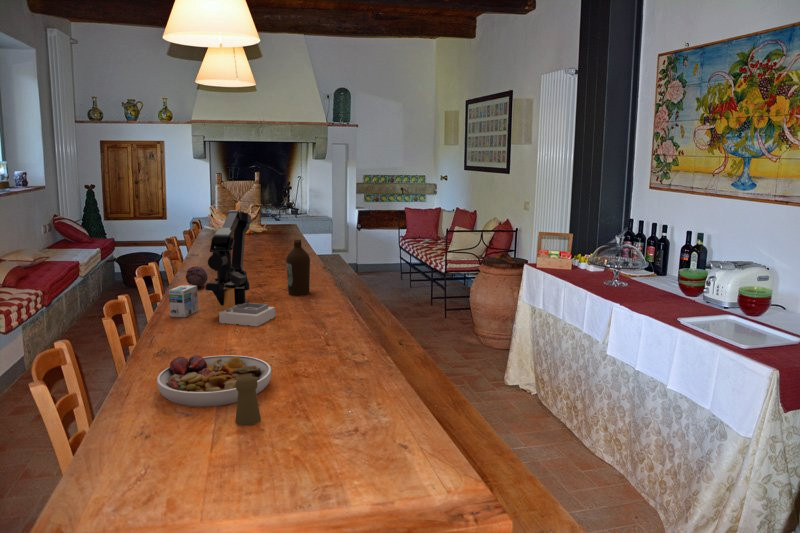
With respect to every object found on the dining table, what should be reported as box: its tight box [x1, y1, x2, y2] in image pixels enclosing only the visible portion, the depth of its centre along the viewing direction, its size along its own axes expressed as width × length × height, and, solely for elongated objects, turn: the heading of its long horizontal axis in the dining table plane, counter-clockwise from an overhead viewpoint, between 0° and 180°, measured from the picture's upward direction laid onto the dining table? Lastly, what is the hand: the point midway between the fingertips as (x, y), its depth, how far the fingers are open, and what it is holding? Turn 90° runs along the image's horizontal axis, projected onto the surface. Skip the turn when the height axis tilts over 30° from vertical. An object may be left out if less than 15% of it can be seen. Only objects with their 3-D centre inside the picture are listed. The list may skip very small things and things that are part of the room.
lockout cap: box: [216, 288, 235, 311], centre depth 255 cm, size 5×5×8 cm
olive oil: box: [285, 238, 311, 297], centre depth 289 cm, size 11×11×25 cm
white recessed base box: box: [218, 302, 276, 327], centre depth 246 cm, size 14×16×6 cm
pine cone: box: [185, 265, 209, 287], centre depth 303 cm, size 18×10×10 cm, turn 21°
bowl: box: [156, 354, 272, 408], centre depth 176 cm, size 30×30×8 cm
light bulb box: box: [168, 284, 199, 318], centre depth 255 cm, size 11×7×11 cm, turn 168°
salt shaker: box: [234, 376, 262, 427], centre depth 155 cm, size 6×6×11 cm
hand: (225, 303), depth 255 cm, fingers closed on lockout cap, 5 cm apart
